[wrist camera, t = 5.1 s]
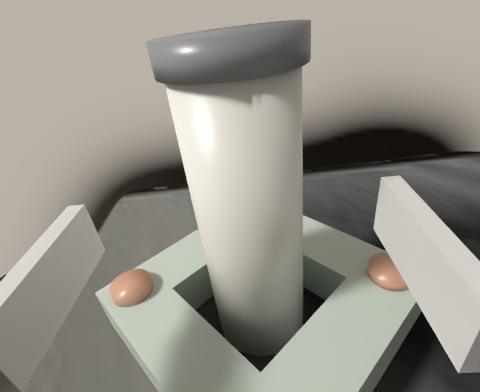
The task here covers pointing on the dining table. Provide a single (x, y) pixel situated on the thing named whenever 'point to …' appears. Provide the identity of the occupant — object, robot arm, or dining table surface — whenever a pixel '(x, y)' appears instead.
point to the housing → (301, 344)
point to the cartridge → (244, 168)
